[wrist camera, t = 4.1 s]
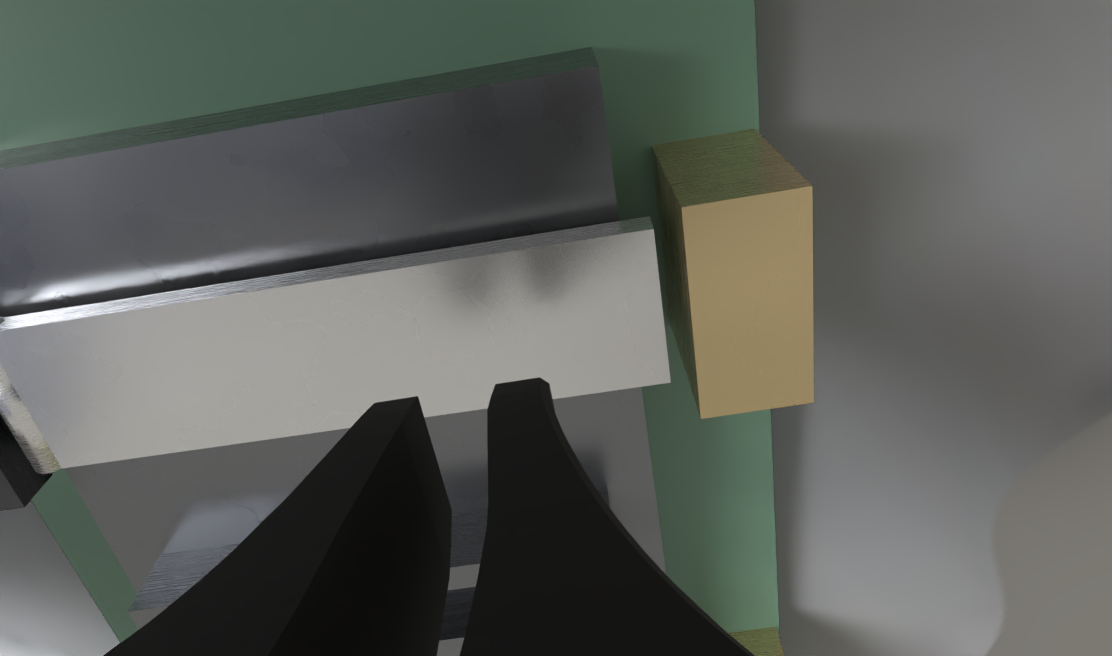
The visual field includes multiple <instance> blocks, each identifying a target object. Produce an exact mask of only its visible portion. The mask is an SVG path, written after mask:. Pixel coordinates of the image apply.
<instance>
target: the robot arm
mask: <svg viewBox="0 0 1112 656" xmlns="http://www.w3.org/2000/svg"><path fill="white" fill-rule="evenodd" d="M487 447H488V514H487V527H486V533H485V539H484V545H483V550H482V556H481V561H480V567H479V573H478V578H477V583H476V588H475V592H474V597H473V601H472V606H471V610H470V615H469V619H468V624H467V628H466V633H465V637H464V641H463V644H462V648H461V652H460V655H459V656H755V655H754V654H752V653H751V652H750V651H749V650H747V649H746V648H745V647H744V646H743V645H741V644H740V643H739V642H738V641H737V640H735V639H734V638H733V637H732V636H731V635H729V634H728V633H727V632H726V631H725V630H724V629H722V628H721V627H720V626H719V625H718V624H717V623H716V622H715V621H714V620H713V619H712V618H711V617H710V616H709V615H708V614H707V613H705V612H704V611H703V610H702V609H701V608H700V607H699V606H698V605H697V604H696V603H695V602H694V601H693V600H692V599H691V598H690V597H688V596H687V595H686V594H685V593H684V592H683V591H682V590H681V589H680V588H679V587H678V586H677V585H676V584H675V583H674V582H673V581H672V580H671V579H670V578H669V577H668V576H667V575H666V574H665V573H664V572H663V571H662V570H661V569H660V568H659V566H658V565H657V564H656V563H655V562H654V561H653V560H652V559H651V558H650V557H649V556H648V554H647V553H646V552H645V551H644V550H643V549H642V548H641V546H640V545H639V544H638V543H637V542H636V540H635V539H634V538H633V537H632V536H631V535H630V533H629V532H628V531H627V530H626V529H625V527H624V526H623V525H622V523H621V522H620V521H619V520H618V518H617V517H616V516H615V514H614V513H613V512H612V510H611V509H610V508H609V506H608V505H607V503H606V502H605V501H604V499H603V498H602V496H601V495H600V493H599V492H598V490H597V489H596V488H595V486H594V485H593V483H592V482H591V480H590V478H589V477H588V475H587V474H586V472H585V471H584V469H583V467H582V466H581V464H580V462H579V460H578V458H577V457H576V455H575V453H574V451H573V450H572V448H571V446H570V444H569V442H568V441H567V439H566V437H565V435H564V433H563V431H562V428H561V426H560V424H559V421H558V419H557V416H556V414H555V409H554V404H553V399H552V394H551V389H550V384H549V383H548V382H546V381H545V380H543V379H542V378H540V377H538V378H532V379H525V380H519V381H512V382H506V383H499V384H495V387H494V389H493V392H492V395H491V398H490V402H489V406H488V409H487ZM451 530H452V509H451V506H450V502H449V499H448V496H447V492H446V489H445V486H444V482H443V479H442V475H441V472H440V469H439V465H438V462H437V459H436V455H435V452H434V448H433V445H432V442H431V438H430V435H429V432H428V428H427V425H426V422H425V418H424V415H423V411H422V408H421V405H420V401H419V398H418V396H415V397H409V398H402V399H396V400H389V401H383V402H376V403H374V404H373V405H372V406H371V407H370V408H369V409H368V410H367V411H366V412H365V413H364V414H363V415H362V416H361V417H360V418H359V419H358V420H357V421H356V422H355V423H354V425H353V426H352V427H351V428H350V429H349V430H348V431H347V432H346V433H345V434H344V436H343V437H342V438H341V439H340V440H339V441H338V442H337V443H336V444H335V446H334V447H333V448H332V449H331V450H330V451H329V452H328V453H327V455H326V456H325V457H324V458H323V459H322V460H321V461H320V462H319V463H318V464H317V465H316V466H315V468H314V469H313V470H312V471H311V472H310V473H309V474H308V475H307V476H306V477H305V478H304V479H303V481H302V482H301V483H300V484H299V485H298V486H297V487H296V488H295V489H294V490H293V491H292V492H291V493H290V495H289V496H288V497H287V498H286V499H285V500H284V501H283V502H282V503H281V504H280V505H279V506H278V507H277V508H276V509H274V510H273V511H272V512H271V513H270V514H269V515H268V516H267V517H266V518H265V519H264V520H263V521H262V522H261V523H260V524H259V525H258V526H257V527H256V528H255V529H254V530H253V531H252V532H251V533H250V534H249V535H248V536H247V537H246V538H245V539H244V540H243V541H242V542H241V543H240V544H239V545H238V546H237V547H236V548H235V549H234V550H233V551H232V552H231V553H230V554H229V555H227V556H226V557H225V558H224V559H223V560H222V561H221V562H220V563H219V564H218V565H216V566H215V567H214V568H213V569H212V570H211V571H210V572H209V573H207V574H206V575H205V576H204V577H203V578H202V579H201V580H199V581H198V582H197V583H196V584H195V585H193V586H192V587H191V588H190V589H189V590H187V591H186V592H185V593H184V594H183V595H181V596H180V597H179V598H178V599H177V600H175V601H174V602H173V603H172V604H171V605H169V606H168V607H167V608H166V609H165V610H163V611H162V612H161V613H160V614H158V615H157V616H156V617H155V618H153V619H152V620H151V621H150V622H148V623H147V624H146V625H144V626H143V627H142V628H140V629H139V630H138V631H136V632H135V633H133V634H132V635H131V636H129V637H128V638H127V639H125V640H124V641H123V642H121V643H120V644H118V645H117V646H116V647H114V648H113V649H112V650H110V651H109V652H108V653H106V654H105V655H104V656H437V651H438V645H439V639H440V633H441V627H442V621H443V615H444V609H445V603H446V597H447V591H448V584H449V578H450V559H451Z"/></svg>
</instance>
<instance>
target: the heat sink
mask: <svg viewBox="0 0 1112 656" xmlns="http://www.w3.org/2000/svg"><path fill="white" fill-rule="evenodd" d="M652 156H653V165H654V174H655V184H656V193H657V203H658V212H659V221H660V231H661V240H662V249H663V259H664V268H665V278H666V287H667V296H668V306H669V315H670V324H671V328H672V331H673V334H674V337H675V340H676V343H677V346H678V349H679V353H680V356H681V359H682V362H683V365H684V368H685V371H686V374H687V377H688V381H689V384H690V387H691V390H692V393H693V396H694V399H695V402H696V406H697V409H698V412H699V415H700V418H701V419H704V418H711V417H718V416H725V415H732V414H739V413H746V412H753V411H759V410H766V409H773V408H780V407H787V406H794V405H801V404H808V403H814V335H813V194H812V185H811V184H810V183H809V182H808V181H807V180H806V179H805V178H804V177H803V176H802V175H801V174H800V173H799V172H798V171H797V170H796V169H795V168H794V167H793V166H792V165H791V164H790V163H789V162H788V161H787V160H786V159H785V158H784V157H783V156H782V155H781V154H780V153H779V152H778V151H777V150H776V149H775V148H774V147H773V146H772V145H771V144H770V143H769V142H768V141H767V140H766V139H765V138H764V137H763V136H762V135H760V134H759V133H758V132H757V131H756V130H755V129H748V130H742V131H736V132H730V133H724V134H718V135H712V136H706V137H700V138H694V139H688V140H682V141H676V142H670V143H664V144H658V145H652ZM616 221H619V215H618V208H617V200H616V193H615V185H614V178H613V170H612V162H611V155H610V147H609V140H608V132H607V125H606V117H605V110H604V102H603V95H602V87H601V80H600V72H599V65H598V63H597V60H596V58H595V55H594V53H593V50H592V48H591V47H588V48H582V49H576V50H571V51H565V52H559V53H554V54H548V55H542V56H537V57H531V58H525V59H519V60H514V61H508V62H502V63H497V64H491V65H485V66H480V67H474V68H468V69H462V70H457V71H451V72H445V73H440V74H434V75H428V76H423V77H417V78H411V79H406V80H400V81H394V82H388V83H383V84H377V85H371V86H366V87H360V88H354V89H349V90H343V91H337V92H332V93H326V94H320V95H314V96H309V97H303V98H297V99H292V100H286V101H280V102H275V103H269V104H263V105H257V106H252V107H246V108H240V109H235V110H229V111H223V112H218V113H212V114H206V115H201V116H195V117H189V118H183V119H178V120H172V121H166V122H161V123H155V124H149V125H144V126H138V127H132V128H126V129H121V130H115V131H109V132H104V133H98V134H92V135H87V136H81V137H75V138H70V139H64V140H58V141H52V142H47V143H41V144H35V145H30V146H24V147H18V148H13V149H7V150H1V151H0V317H11V316H17V315H23V314H30V313H36V312H43V311H49V310H55V309H62V308H68V307H74V306H81V305H87V304H94V303H100V302H106V301H113V300H119V299H125V298H132V297H138V296H145V295H151V294H157V293H164V292H170V291H176V290H183V289H189V288H196V287H202V286H208V285H215V284H221V283H227V282H234V281H240V280H247V279H253V278H259V277H266V276H272V275H278V274H285V273H291V272H298V271H304V270H310V269H317V268H323V267H329V266H336V265H342V264H349V263H355V262H361V261H368V260H374V259H380V258H387V257H393V256H400V255H406V254H412V253H419V252H425V251H431V250H438V249H444V248H451V247H457V246H463V245H470V244H476V243H482V242H489V241H495V240H502V239H508V238H514V237H521V236H527V235H533V234H540V233H546V232H553V231H559V230H565V229H572V228H578V227H584V226H591V225H597V224H604V223H610V222H616ZM553 404H554V409H555V414H556V416H557V419H558V421H559V424H560V426H561V428H562V431H563V433H564V435H565V437H566V439H567V441H568V442H569V444H570V446H571V448H572V450H573V451H574V453H575V455H576V457H577V458H578V460H579V462H580V464H581V466H582V467H583V469H584V471H585V472H586V474H587V475H588V477H589V478H590V480H591V482H592V483H593V485H594V486H595V488H596V489H597V490H598V492H599V493H600V495H601V496H602V498H603V499H604V501H605V502H606V503H607V505H608V506H609V508H610V509H611V510H612V512H613V513H614V514H615V516H616V517H617V518H618V520H619V521H620V522H621V523H622V525H623V526H624V527H625V529H626V530H627V531H628V532H629V533H630V535H631V536H632V537H633V538H634V539H635V540H636V542H637V543H638V544H639V545H640V546H641V548H642V549H643V550H644V551H645V552H646V553H647V554H648V556H649V557H650V558H651V559H652V560H653V561H654V562H655V563H656V564H657V565H658V566H659V568H660V569H661V570H662V571H663V572H664V573H665V574H666V570H665V562H664V555H663V547H662V539H661V532H660V524H659V517H658V509H657V502H656V494H655V487H654V479H653V472H652V464H651V456H650V449H649V441H648V434H647V426H646V419H645V411H644V404H643V396H642V389H641V387H636V388H629V389H622V390H615V391H608V392H601V393H594V394H586V395H579V396H572V397H565V398H558V399H553ZM487 409H488V408H487ZM487 409H480V410H473V411H466V412H459V413H452V414H445V415H438V416H431V417H424V418H425V422H426V425H427V428H428V432H429V435H430V438H431V442H432V445H433V448H434V452H435V455H436V459H437V462H438V465H439V469H440V472H441V475H442V479H443V482H444V486H445V489H446V492H447V496H448V499H449V502H450V506H451V509H452V530H451V559H450V578H449V584H448V591H447V597H446V603H445V609H444V615H443V621H442V627H441V633H440V639H439V645H438V651H437V656H459V655H460V652H461V648H462V644H463V641H464V637H465V633H466V628H467V624H468V619H469V615H470V610H471V606H472V601H473V597H474V592H475V588H476V583H477V578H478V573H479V567H480V561H481V556H482V550H483V545H484V539H485V533H486V527H487V514H488V447H487ZM349 429H350V428H346V429H339V430H331V431H324V432H317V433H310V434H303V435H296V436H289V437H282V438H275V439H268V440H261V441H254V442H246V443H239V444H232V445H225V446H218V447H211V448H204V449H197V450H190V451H183V452H176V453H169V454H161V455H154V456H147V457H140V458H133V459H126V460H119V461H112V462H105V463H98V464H91V465H84V466H76V467H69V468H64V469H65V471H66V473H67V474H68V476H69V478H70V479H71V481H72V483H73V484H74V486H75V488H76V490H77V491H78V493H79V495H80V496H81V498H82V500H83V502H84V503H85V505H86V507H87V508H88V510H89V512H90V513H91V515H92V517H93V519H94V520H95V522H96V524H97V525H98V527H99V529H100V530H101V532H102V534H103V536H104V537H105V539H106V541H107V542H108V544H109V546H110V547H111V549H112V551H113V553H114V554H115V556H116V558H117V559H118V561H119V563H120V565H121V566H122V568H123V570H124V571H125V573H126V575H127V576H128V578H129V580H130V582H131V583H132V585H133V587H134V588H135V590H136V592H137V593H138V594H137V596H136V598H135V599H134V601H133V603H132V604H131V606H130V608H129V609H128V611H127V612H128V614H129V616H130V617H131V619H132V621H133V622H134V624H135V626H136V627H137V629H138V630H139V629H140V628H142V627H143V626H144V625H146V624H147V623H148V622H150V621H151V620H152V619H153V618H155V617H156V616H157V615H158V614H160V613H161V612H162V611H163V610H165V609H166V608H167V607H168V606H169V605H171V604H172V603H173V602H174V601H175V600H177V599H178V598H179V597H180V596H181V595H183V594H184V593H185V592H186V591H187V590H189V589H190V588H191V587H192V586H193V585H195V584H196V583H197V582H198V581H199V580H201V579H202V578H203V577H204V576H205V575H206V574H207V573H209V572H210V571H211V570H212V569H213V568H214V567H215V566H216V565H218V564H219V563H220V562H221V561H222V560H223V559H224V558H225V557H226V556H227V555H229V554H230V553H231V552H232V551H233V550H234V549H235V548H236V547H237V546H238V545H239V544H240V543H241V542H242V541H243V540H244V539H245V538H246V537H247V536H248V535H249V534H250V533H251V532H252V531H253V530H254V529H255V528H256V527H257V526H258V525H259V524H260V523H261V522H262V521H263V520H264V519H265V518H266V517H267V516H268V515H269V514H270V513H271V512H272V511H273V510H274V509H276V508H277V507H278V506H279V505H280V504H281V503H282V502H283V501H284V500H285V499H286V498H287V497H288V496H289V495H290V493H291V492H292V491H293V490H294V489H295V488H296V487H297V486H298V485H299V484H300V483H301V482H302V481H303V479H304V478H305V477H306V476H307V475H308V474H309V473H310V472H311V471H312V470H313V469H314V468H315V466H316V465H317V464H318V463H319V462H320V461H321V460H322V459H323V458H324V457H325V456H326V455H327V453H328V452H329V451H330V450H331V449H332V448H333V447H334V446H335V444H336V443H337V442H338V441H339V440H340V439H341V438H342V437H343V436H344V434H345V433H346V432H347V431H348V430H349ZM52 475H53V474H52V473H47V474H38V473H36V472H35V470H34V468H33V467H32V465H31V463H30V462H29V460H28V458H27V457H26V455H25V454H24V452H23V450H22V449H21V447H20V445H19V444H18V442H17V440H16V439H15V437H14V436H13V434H12V432H11V431H10V429H9V427H8V426H7V424H6V422H5V421H4V419H3V418H2V416H1V414H0V511H2V510H9V509H16V508H23V507H25V506H26V505H27V504H28V503H29V502H30V500H31V499H32V498H33V497H34V496H35V495H36V493H37V492H38V491H39V490H40V489H41V488H42V487H43V485H44V484H45V483H46V482H47V481H48V480H49V478H50V477H51V476H52ZM728 634H729V635H731V636H732V637H733V638H734V639H735V640H737V641H738V642H739V643H740V644H741V645H743V646H744V647H745V648H746V649H747V650H749V651H750V652H751V653H752V654H754V655H755V656H785V654H784V651H783V648H782V645H781V642H780V639H779V636H778V633H777V630H776V627H769V628H761V629H754V630H746V631H738V632H730V633H728Z"/></svg>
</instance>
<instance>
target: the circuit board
mask: <svg viewBox="0 0 1112 656" xmlns="http://www.w3.org/2000/svg"><path fill="white" fill-rule="evenodd" d="M588 47H591V48H592V50H593V53H594V55H595V58H596V60H597V63H598V65H599V72H600V80H601V87H602V95H603V102H604V110H605V117H606V125H607V132H608V140H609V147H610V155H611V162H612V170H613V178H614V185H615V193H616V200H617V208H618V215H619V221H623V220H629V219H635V218H642V217H648V216H650V219H651V222H652V225H653V228H654V236H655V245H656V254H657V263H658V272H659V281H660V290H661V299H662V308H663V317H664V326H665V335H666V344H667V353H668V362H669V371H670V380H671V383H664V384H657V385H650V386H643V387H641V389H642V396H643V404H644V411H645V419H646V426H647V434H648V441H649V449H650V456H651V464H652V472H653V479H654V487H655V494H656V502H657V509H658V517H659V524H660V532H661V539H662V547H663V555H664V562H665V570H666V575H667V576H668V577H669V578H670V579H671V580H672V581H673V582H674V583H675V584H676V585H677V586H678V587H679V588H680V589H681V590H682V591H683V592H684V593H685V594H686V595H687V596H688V597H690V598H691V599H692V600H693V601H694V602H695V603H696V604H697V605H698V606H699V607H700V608H701V609H702V610H703V611H704V612H705V613H707V614H708V615H709V616H710V617H711V618H712V619H713V620H714V621H715V622H716V623H717V624H718V625H719V626H720V627H721V628H722V629H724V630H725V631H726V632H727V633H730V632H738V631H746V630H754V629H761V628H769V627H776V630H777V633H778V636H779V612H778V586H777V561H776V535H775V510H774V484H773V459H772V433H771V409H766V410H759V411H753V412H746V413H739V414H732V415H725V416H718V417H711V418H704V419H701V418H700V415H699V412H698V409H697V406H696V402H695V399H694V396H693V393H692V390H691V387H690V384H689V381H688V377H687V374H686V371H685V368H684V365H683V362H682V359H681V356H680V353H679V349H678V346H677V343H676V340H675V337H674V334H673V331H672V328H671V324H670V315H669V306H668V296H667V287H666V278H665V268H664V259H663V249H662V240H661V231H660V221H659V212H658V203H657V193H656V184H655V174H654V165H653V156H652V145H658V144H664V143H670V142H676V141H682V140H688V139H694V138H700V137H706V136H712V135H718V134H724V133H730V132H736V131H742V130H748V129H755V130H756V131H757V132H758V133H759V134H760V127H759V102H758V76H757V51H756V25H755V0H0V151H1V150H7V149H13V148H18V147H24V146H30V145H35V144H41V143H47V142H52V141H58V140H64V139H70V138H75V137H81V136H87V135H92V134H98V133H104V132H109V131H115V130H121V129H126V128H132V127H138V126H144V125H149V124H155V123H161V122H166V121H172V120H178V119H183V118H189V117H195V116H201V115H206V114H212V113H218V112H223V111H229V110H235V109H240V108H246V107H252V106H257V105H263V104H269V103H275V102H280V101H286V100H292V99H297V98H303V97H309V96H314V95H320V94H326V93H332V92H337V91H343V90H349V89H354V88H360V87H366V86H371V85H377V84H383V83H388V82H394V81H400V80H406V79H411V78H417V77H423V76H428V75H434V74H440V73H445V72H451V71H457V70H462V69H468V68H474V67H480V66H485V65H491V64H497V63H502V62H508V61H514V60H519V59H525V58H531V57H537V56H542V55H548V54H554V53H559V52H565V51H571V50H576V49H582V48H588ZM52 474H53V475H52V476H51V477H50V478H49V480H48V481H47V482H46V483H45V484H44V485H43V487H42V488H41V489H40V490H39V491H38V492H37V493H36V495H35V496H34V497H33V498H32V499H31V501H32V503H33V504H34V506H35V508H36V509H37V511H38V512H39V514H40V516H41V517H42V519H43V520H44V522H45V524H46V525H47V527H48V528H49V530H50V531H51V533H52V535H53V536H54V538H55V539H56V541H57V543H58V544H59V546H60V547H61V549H62V551H63V552H64V554H65V555H66V557H67V559H68V560H69V562H70V563H71V565H72V566H73V568H74V570H75V571H76V573H77V574H78V576H79V578H80V579H81V581H82V582H83V584H84V586H85V587H86V589H87V590H88V592H89V594H90V595H91V597H92V598H93V600H94V602H95V603H96V605H97V606H98V608H99V609H100V611H101V613H102V614H103V616H104V617H105V619H106V621H107V622H108V624H109V625H110V627H111V629H112V630H113V632H114V633H115V635H116V637H117V638H118V640H119V641H120V643H121V642H123V641H124V640H125V639H127V638H128V637H129V636H131V635H132V634H133V633H135V632H136V631H138V629H137V627H136V626H135V624H134V622H133V621H132V619H131V617H130V616H129V614H128V612H127V611H128V609H129V608H130V606H131V604H132V603H133V601H134V599H135V598H136V596H137V594H138V593H137V592H136V590H135V588H134V587H133V585H132V583H131V582H130V580H129V578H128V576H127V575H126V573H125V571H124V570H123V568H122V566H121V565H120V563H119V561H118V559H117V558H116V556H115V554H114V553H113V551H112V549H111V547H110V546H109V544H108V542H107V541H106V539H105V537H104V536H103V534H102V532H101V530H100V529H99V527H98V525H97V524H96V522H95V520H94V519H93V517H92V515H91V513H90V512H89V510H88V508H87V507H86V505H85V503H84V502H83V500H82V498H81V496H80V495H79V493H78V491H77V490H76V488H75V486H74V484H73V483H72V481H71V479H70V478H69V476H68V474H67V473H66V471H65V469H64V468H62V469H60V470H57V471H55V472H52ZM779 639H780V637H779Z"/></svg>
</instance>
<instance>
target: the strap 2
mask: <svg viewBox="0 0 1112 656" xmlns="http://www.w3.org/2000/svg"><path fill="white" fill-rule="evenodd" d="M538 377H540V378H542V379H543V380H545V381H546V382H548V383H549V384H550V389H551V394H552V399H558V398H565V397H572V396H579V395H586V394H594V393H601V392H608V391H615V390H622V389H629V388H636V387H643V386H650V385H657V384H664V383H671V380H670V371H669V362H668V353H667V344H666V335H665V326H664V317H663V308H662V299H661V290H660V281H659V272H658V263H657V254H656V245H655V236H654V228H653V225H652V222H651V219H650V216H648V217H642V218H635V219H629V220H623V221H616V222H610V223H604V224H597V225H591V226H584V227H578V228H572V229H565V230H559V231H553V232H546V233H540V234H533V235H527V236H521V237H514V238H508V239H502V240H495V241H489V242H482V243H476V244H470V245H463V246H457V247H451V248H444V249H438V250H431V251H425V252H419V253H412V254H406V255H400V256H393V257H387V258H380V259H374V260H368V261H361V262H355V263H349V264H342V265H336V266H329V267H323V268H317V269H310V270H304V271H298V272H291V273H285V274H278V275H272V276H266V277H259V278H253V279H247V280H240V281H234V282H227V283H221V284H215V285H208V286H202V287H196V288H189V289H183V290H176V291H170V292H164V293H157V294H151V295H145V296H138V297H132V298H125V299H119V300H113V301H106V302H100V303H94V304H87V305H81V306H74V307H68V308H62V309H55V310H49V311H43V312H36V313H30V314H23V315H17V316H11V317H0V414H1V416H2V418H3V419H4V421H5V422H6V424H7V426H8V427H9V429H10V431H11V432H12V434H13V436H14V437H15V439H16V440H17V442H18V444H19V445H20V447H21V449H22V450H23V452H24V454H25V455H26V457H27V458H28V460H29V462H30V463H31V465H32V467H33V468H34V470H35V472H36V473H38V474H47V473H52V472H55V471H57V470H60V469H62V468H69V467H76V466H84V465H91V464H98V463H105V462H112V461H119V460H126V459H133V458H140V457H147V456H154V455H161V454H169V453H176V452H183V451H190V450H197V449H204V448H211V447H218V446H225V445H232V444H239V443H246V442H254V441H261V440H268V439H275V438H282V437H289V436H296V435H303V434H310V433H317V432H324V431H331V430H339V429H346V428H351V427H352V426H353V425H354V423H355V422H356V421H357V420H358V419H359V418H360V417H361V416H362V415H363V414H364V413H365V412H366V411H367V410H368V409H369V408H370V407H371V406H372V405H373V404H374V403H376V402H383V401H389V400H396V399H402V398H409V397H415V396H418V398H419V401H420V405H421V408H422V411H423V415H424V417H431V416H438V415H445V414H452V413H459V412H466V411H473V410H480V409H487V408H488V406H489V402H490V398H491V395H492V392H493V389H494V387H495V384H499V383H506V382H512V381H519V380H525V379H532V378H538Z"/></svg>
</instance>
